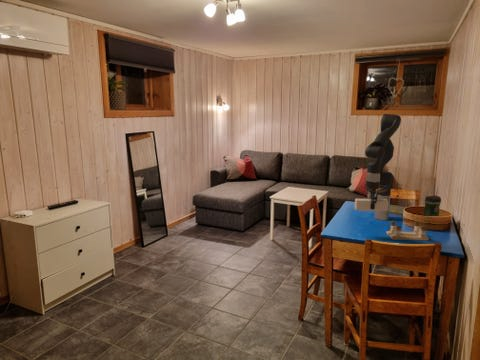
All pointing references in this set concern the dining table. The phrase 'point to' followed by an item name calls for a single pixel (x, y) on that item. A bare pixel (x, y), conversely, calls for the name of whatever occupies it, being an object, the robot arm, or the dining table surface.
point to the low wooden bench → (407, 233)
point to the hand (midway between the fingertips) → (371, 207)
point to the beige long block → (366, 204)
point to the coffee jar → (432, 206)
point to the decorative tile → (396, 210)
